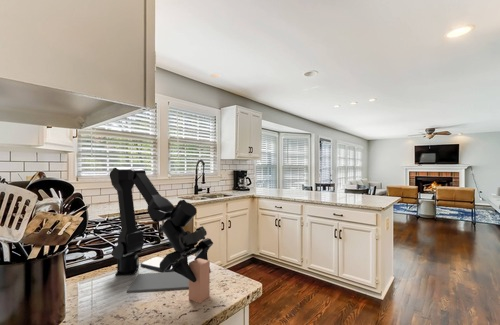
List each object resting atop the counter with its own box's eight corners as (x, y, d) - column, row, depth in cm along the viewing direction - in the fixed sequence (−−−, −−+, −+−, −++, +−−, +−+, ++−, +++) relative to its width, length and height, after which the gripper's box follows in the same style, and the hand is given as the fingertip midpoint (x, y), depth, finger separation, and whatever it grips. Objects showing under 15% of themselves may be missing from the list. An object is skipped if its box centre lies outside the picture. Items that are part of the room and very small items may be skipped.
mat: (126, 292, 79) (126, 290, 79) (138, 275, 91) (138, 273, 91) (197, 288, 82) (197, 286, 82) (199, 272, 94) (199, 270, 94)
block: (188, 299, 76) (188, 262, 76) (198, 292, 79) (198, 258, 79) (199, 303, 73) (200, 265, 73) (209, 296, 77) (209, 260, 77)
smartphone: (139, 267, 99) (169, 274, 92) (138, 263, 99) (169, 270, 92) (156, 259, 107) (185, 265, 100) (156, 256, 107) (185, 261, 100)
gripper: (166, 226, 70) (195, 274, 65) (209, 214, 86) (235, 252, 81) (148, 249, 74) (174, 296, 69) (192, 233, 90) (216, 271, 85)
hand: (202, 277), depth 76 cm, fingers open, 6 cm apart
